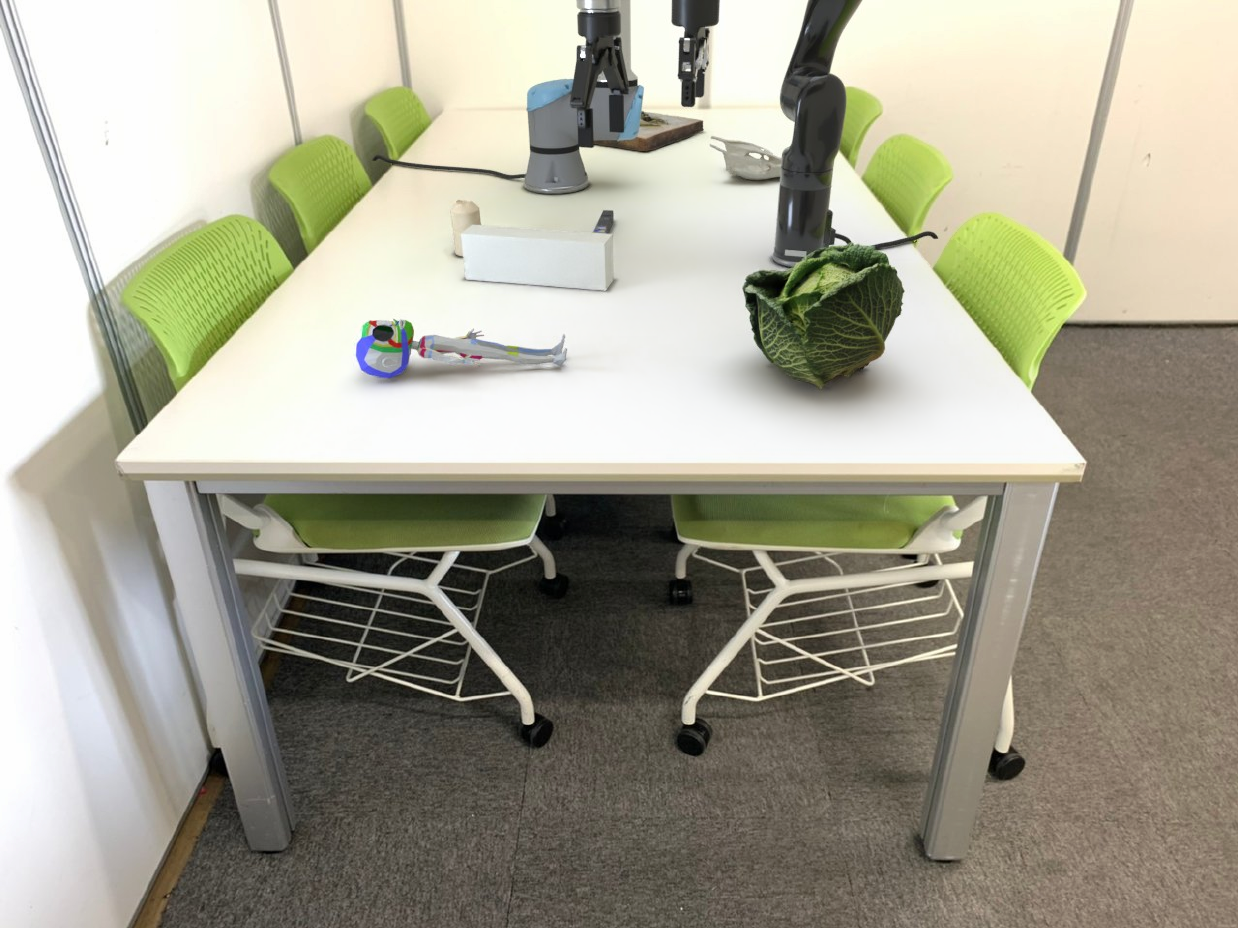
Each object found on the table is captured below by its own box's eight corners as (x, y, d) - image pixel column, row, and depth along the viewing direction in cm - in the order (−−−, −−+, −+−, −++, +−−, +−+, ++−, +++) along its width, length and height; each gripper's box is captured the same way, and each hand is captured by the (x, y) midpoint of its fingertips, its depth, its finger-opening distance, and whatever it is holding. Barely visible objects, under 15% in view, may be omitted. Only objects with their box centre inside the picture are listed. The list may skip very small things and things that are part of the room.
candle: (488, 249, 176) (483, 198, 171) (475, 258, 172) (470, 206, 167) (463, 246, 178) (457, 196, 173) (450, 255, 174) (443, 204, 168)
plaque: (647, 125, 237) (559, 112, 252) (647, 153, 241) (560, 139, 256) (706, 107, 258) (622, 97, 273) (705, 133, 262) (622, 121, 277)
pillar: (613, 210, 190) (600, 241, 173) (613, 220, 191) (600, 251, 174) (603, 210, 190) (589, 240, 173) (603, 220, 191) (589, 251, 174)
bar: (465, 279, 163) (460, 233, 158) (476, 269, 167) (472, 224, 163) (605, 291, 157) (604, 243, 153) (613, 280, 162) (612, 233, 157)
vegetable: (774, 398, 137) (714, 287, 129) (876, 327, 138) (822, 213, 130) (838, 431, 119) (772, 304, 111) (955, 349, 120) (897, 218, 112)
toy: (569, 347, 126) (349, 329, 122) (563, 400, 131) (350, 385, 126) (565, 318, 135) (359, 301, 130) (559, 369, 139) (360, 354, 134)
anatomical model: (711, 132, 222) (813, 131, 218) (711, 170, 227) (811, 169, 223) (707, 147, 210) (815, 146, 206) (707, 186, 215) (813, 186, 211)
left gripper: (587, 18, 143) (591, 155, 154) (646, 4, 162) (646, 127, 173) (545, 17, 145) (552, 152, 156) (608, 3, 165) (610, 125, 176)
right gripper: (712, -4, 133) (708, 111, 142) (726, -13, 145) (721, 94, 153) (662, -5, 135) (661, 109, 143) (680, -13, 146) (678, 93, 155)
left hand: (601, 139), depth 165 cm, fingers open, 13 cm apart
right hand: (692, 101), depth 148 cm, fingers open, 8 cm apart
